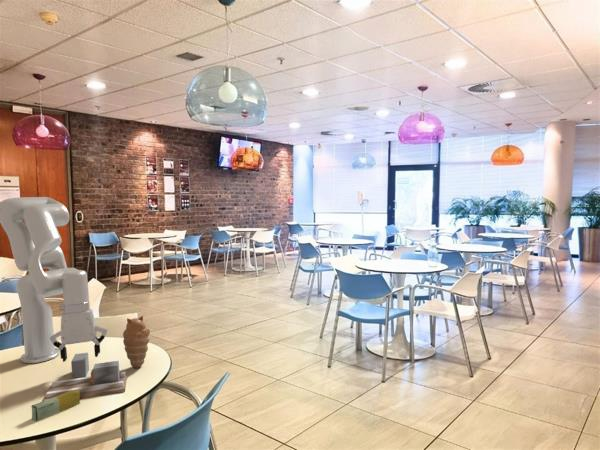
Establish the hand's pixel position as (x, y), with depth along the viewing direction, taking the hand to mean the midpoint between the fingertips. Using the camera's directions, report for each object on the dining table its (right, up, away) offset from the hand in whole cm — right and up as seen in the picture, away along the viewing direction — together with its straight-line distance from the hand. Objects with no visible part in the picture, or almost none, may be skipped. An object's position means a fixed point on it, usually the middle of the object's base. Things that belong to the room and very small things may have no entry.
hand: (81, 357), depth 144 cm
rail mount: (+7, -7, -10) cm, 14 cm away
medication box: (+5, -8, -23) cm, 25 cm away
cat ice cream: (+17, -5, +6) cm, 19 cm away
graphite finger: (0, -6, +1) cm, 6 cm away
